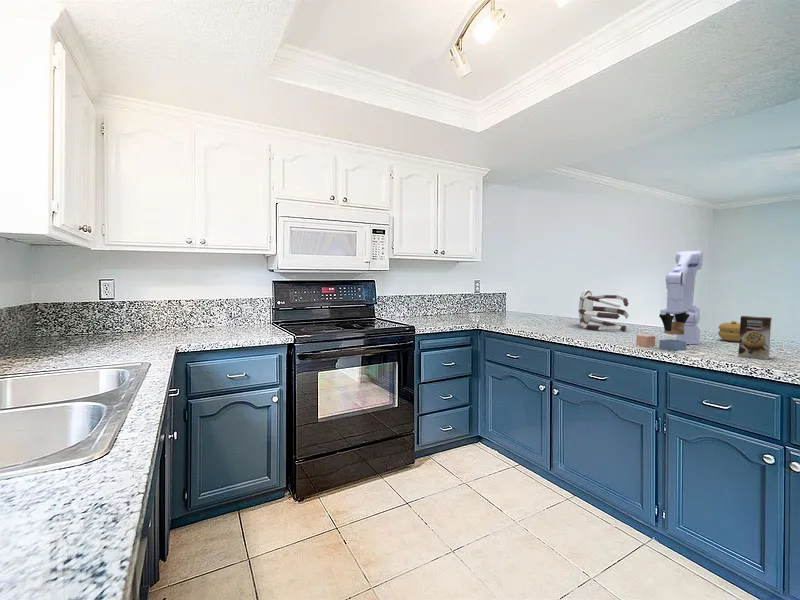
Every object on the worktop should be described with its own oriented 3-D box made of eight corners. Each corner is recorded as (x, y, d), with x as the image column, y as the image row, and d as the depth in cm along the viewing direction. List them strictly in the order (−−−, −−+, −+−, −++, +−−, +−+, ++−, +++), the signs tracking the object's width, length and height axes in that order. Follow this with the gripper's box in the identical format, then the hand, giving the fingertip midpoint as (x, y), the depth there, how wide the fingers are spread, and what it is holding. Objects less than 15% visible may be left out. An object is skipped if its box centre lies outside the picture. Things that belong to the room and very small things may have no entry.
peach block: (644, 345, 188) (645, 334, 188) (654, 346, 183) (655, 336, 183) (636, 345, 187) (636, 335, 186) (646, 347, 182) (646, 336, 182)
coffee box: (737, 356, 160) (739, 316, 159) (739, 354, 165) (741, 315, 164) (768, 359, 154) (770, 318, 153) (769, 357, 158) (771, 316, 157)
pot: (735, 343, 189) (736, 322, 189) (711, 339, 201) (712, 320, 200) (755, 342, 192) (756, 322, 191) (730, 338, 203) (731, 319, 203)
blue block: (670, 347, 181) (670, 339, 181) (686, 350, 175) (686, 341, 175) (659, 348, 179) (659, 340, 179) (674, 351, 172) (674, 342, 172)
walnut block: (676, 332, 179) (676, 321, 178) (683, 334, 173) (684, 323, 173) (664, 332, 179) (664, 321, 179) (671, 334, 174) (671, 323, 174)
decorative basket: (596, 323, 266) (641, 334, 233) (562, 325, 259) (602, 337, 226) (599, 287, 263) (644, 293, 230) (564, 288, 256) (605, 294, 223)
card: (689, 351, 172) (689, 350, 172) (708, 354, 164) (708, 353, 164) (675, 352, 169) (675, 351, 169) (694, 356, 162) (694, 354, 162)
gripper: (677, 298, 182) (676, 328, 182) (654, 299, 177) (653, 329, 178) (693, 299, 175) (692, 330, 176) (669, 300, 170) (668, 332, 171)
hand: (673, 330), depth 176 cm, fingers closed on walnut block, 7 cm apart
